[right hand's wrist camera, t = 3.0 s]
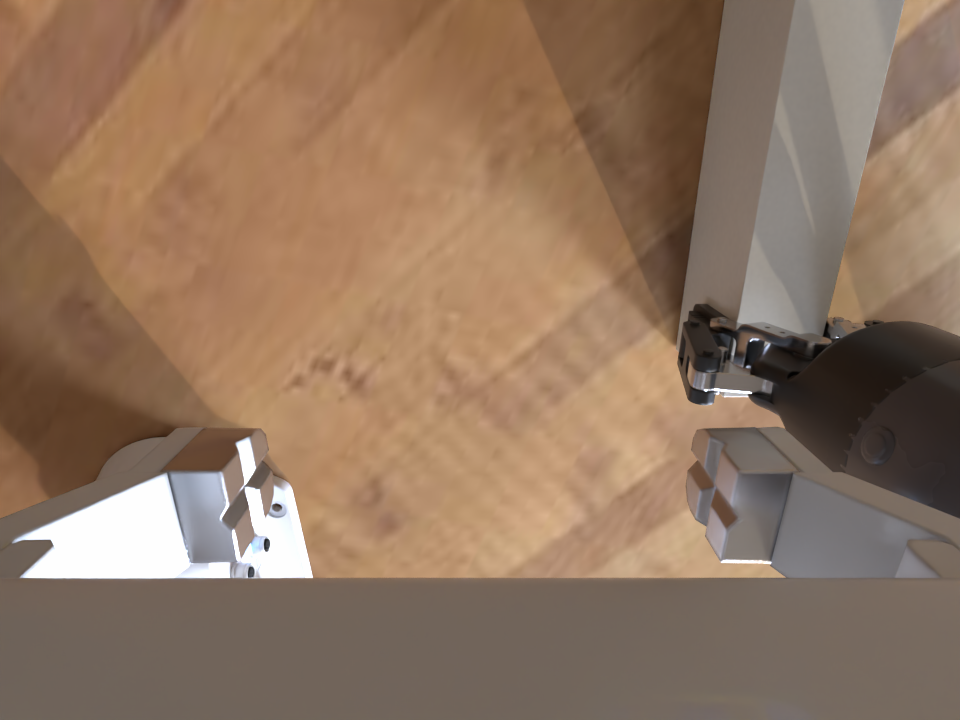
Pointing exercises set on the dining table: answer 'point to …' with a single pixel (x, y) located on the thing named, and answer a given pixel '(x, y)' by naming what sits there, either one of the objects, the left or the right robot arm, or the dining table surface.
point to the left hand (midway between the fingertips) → (741, 318)
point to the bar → (785, 156)
